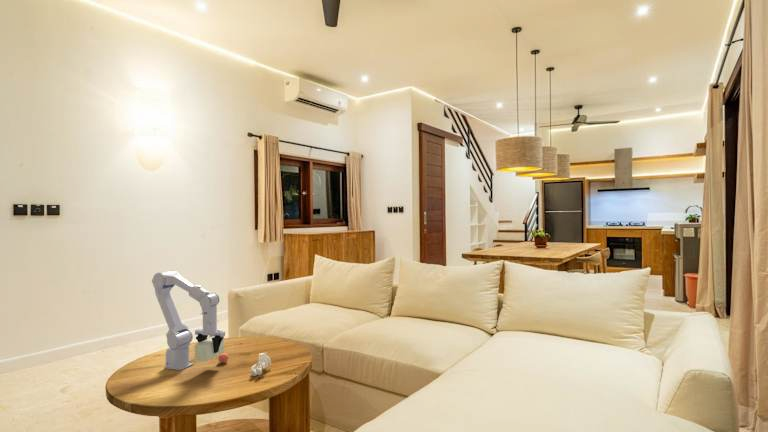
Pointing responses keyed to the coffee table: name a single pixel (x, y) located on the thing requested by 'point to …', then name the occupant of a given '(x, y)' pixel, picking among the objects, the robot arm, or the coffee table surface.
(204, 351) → the pale green block
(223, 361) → the ball
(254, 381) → the coffee table surface
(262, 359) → the white lumpy piece
